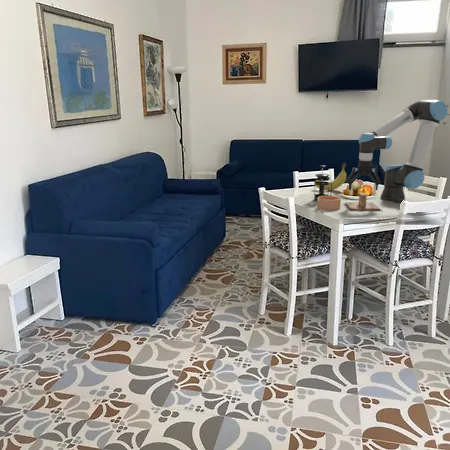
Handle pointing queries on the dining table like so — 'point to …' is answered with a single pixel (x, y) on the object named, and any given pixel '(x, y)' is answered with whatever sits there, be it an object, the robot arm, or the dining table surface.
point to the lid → (362, 204)
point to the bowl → (328, 203)
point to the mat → (349, 209)
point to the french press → (322, 185)
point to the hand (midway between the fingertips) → (362, 195)
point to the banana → (336, 180)
